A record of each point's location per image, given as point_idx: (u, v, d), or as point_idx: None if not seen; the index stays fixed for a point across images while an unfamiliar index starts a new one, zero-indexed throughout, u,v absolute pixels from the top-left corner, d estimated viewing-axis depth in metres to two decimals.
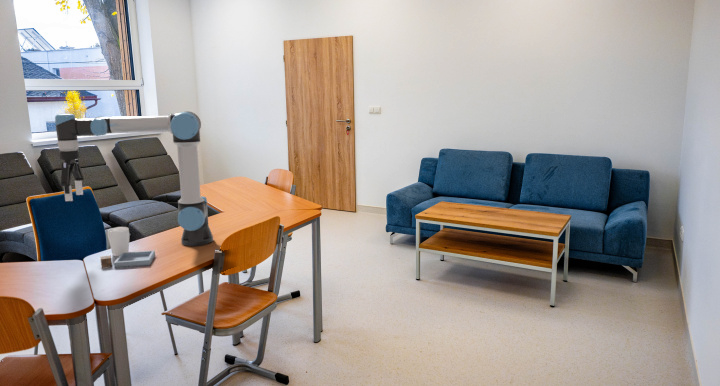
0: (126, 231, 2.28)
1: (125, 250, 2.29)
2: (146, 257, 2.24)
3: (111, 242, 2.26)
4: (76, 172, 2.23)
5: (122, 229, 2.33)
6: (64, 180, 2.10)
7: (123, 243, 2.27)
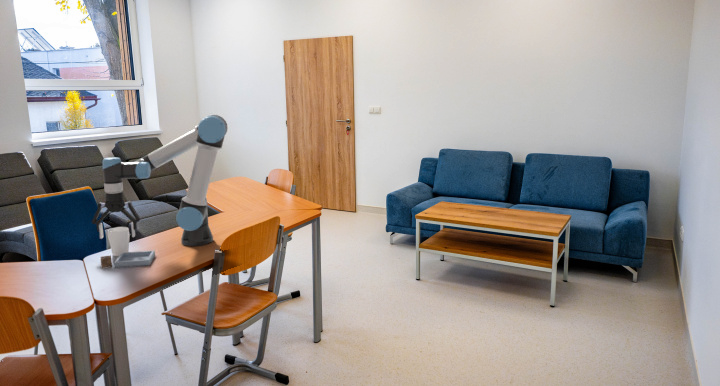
0: (126, 231, 2.28)
1: (125, 250, 2.29)
2: (146, 257, 2.24)
3: (111, 242, 2.26)
4: None
5: (122, 229, 2.33)
6: None
7: (123, 243, 2.27)
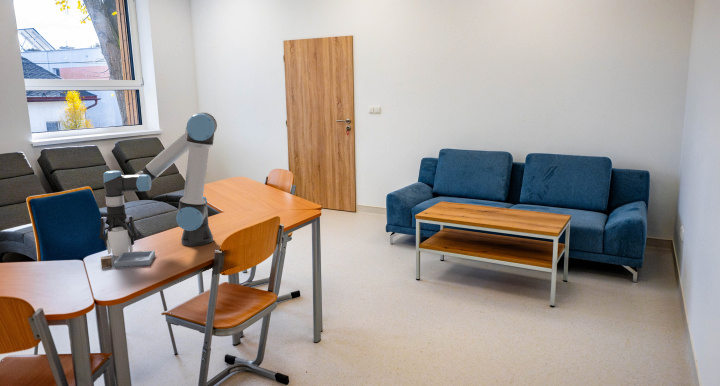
0: (126, 231, 2.28)
1: (125, 250, 2.29)
2: (146, 257, 2.24)
3: (111, 242, 2.26)
4: None
5: (122, 229, 2.33)
6: None
7: (123, 243, 2.27)
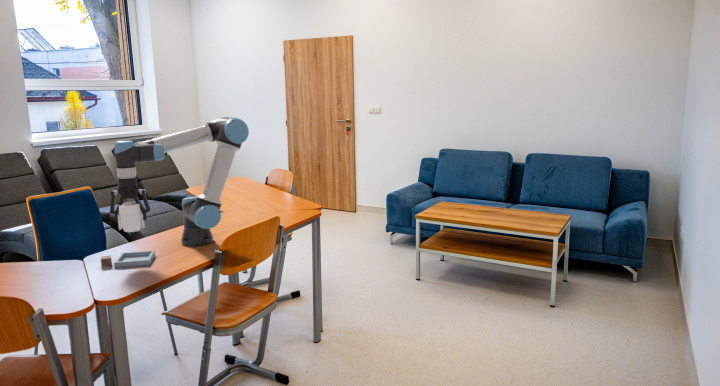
0: (138, 205, 2.14)
1: (137, 225, 2.15)
2: (146, 257, 2.24)
3: (122, 217, 2.12)
4: None
5: (134, 204, 2.20)
6: None
7: (135, 218, 2.14)
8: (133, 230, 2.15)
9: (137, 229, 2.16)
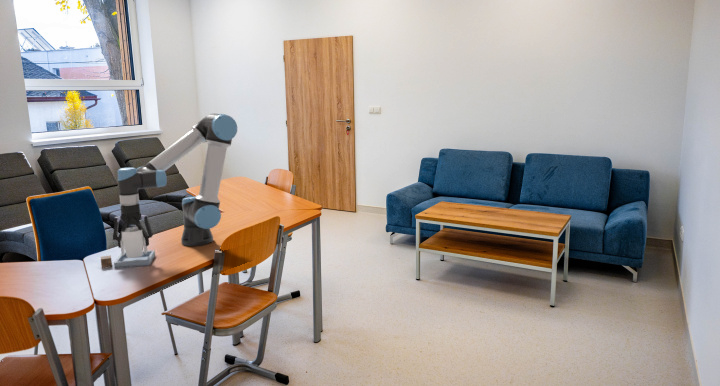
0: (141, 231, 2.17)
1: (140, 251, 2.18)
2: (146, 257, 2.24)
3: (125, 243, 2.15)
4: None
5: (136, 229, 2.22)
6: None
7: (138, 244, 2.16)
8: (136, 256, 2.17)
9: (140, 255, 2.18)
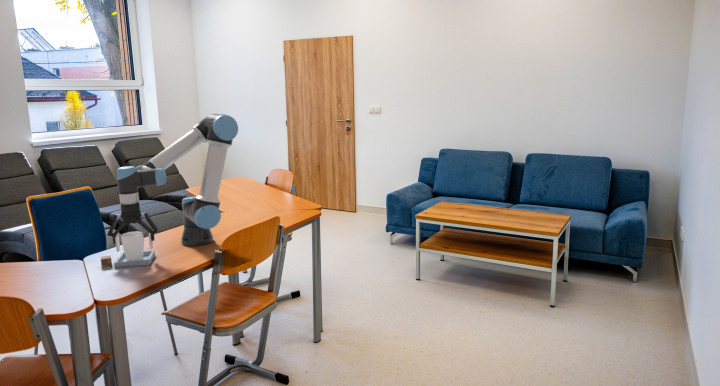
0: (141, 236, 2.17)
1: (140, 256, 2.18)
2: (146, 257, 2.24)
3: (125, 247, 2.15)
4: None
5: (136, 234, 2.23)
6: (109, 230, 2.16)
7: (138, 249, 2.17)
8: None
9: (140, 259, 2.19)
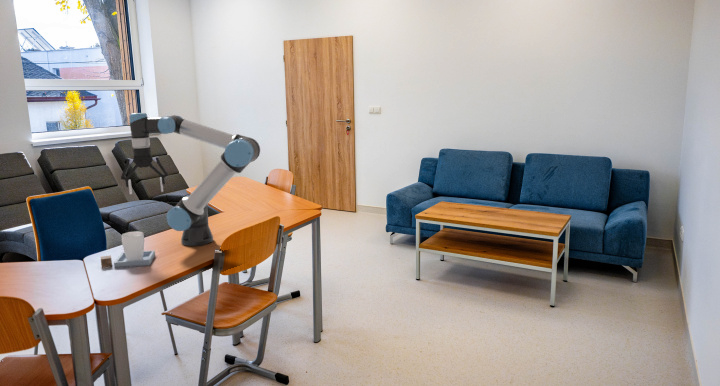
0: (141, 236, 2.17)
1: (140, 256, 2.18)
2: (146, 257, 2.24)
3: (125, 248, 2.15)
4: (153, 169, 2.31)
5: (136, 234, 2.23)
6: (122, 174, 2.28)
7: (138, 249, 2.17)
8: None
9: (140, 259, 2.19)
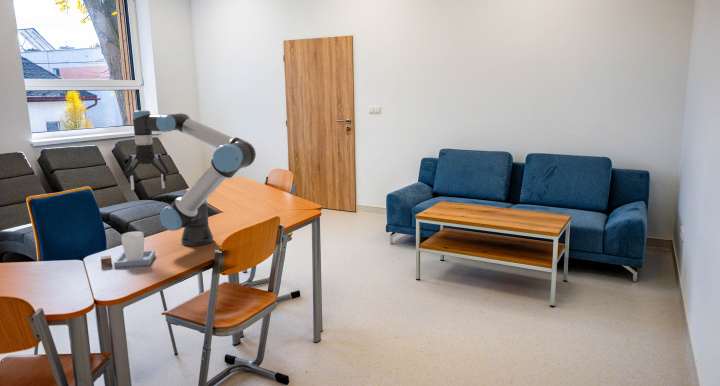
0: (141, 236, 2.17)
1: (140, 256, 2.18)
2: (146, 257, 2.24)
3: (125, 247, 2.15)
4: (155, 166, 2.34)
5: (136, 234, 2.23)
6: None
7: (138, 249, 2.17)
8: None
9: (140, 259, 2.19)
